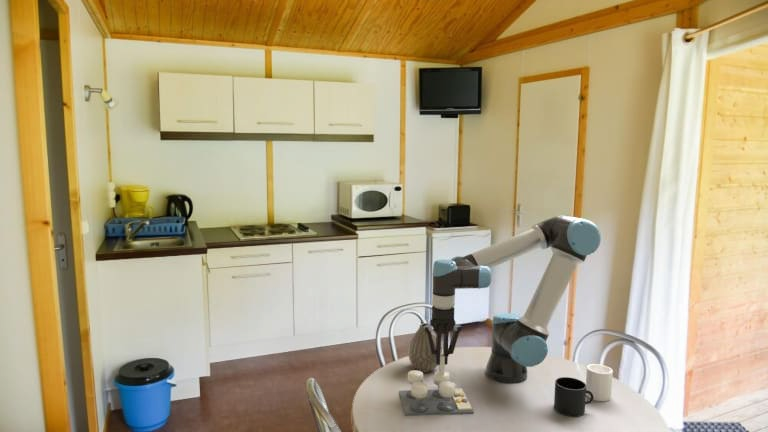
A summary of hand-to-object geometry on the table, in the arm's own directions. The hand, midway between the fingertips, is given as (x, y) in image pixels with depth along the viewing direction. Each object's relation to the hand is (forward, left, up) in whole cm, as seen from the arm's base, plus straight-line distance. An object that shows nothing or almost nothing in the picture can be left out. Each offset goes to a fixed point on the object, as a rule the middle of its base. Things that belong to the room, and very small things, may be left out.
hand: (441, 373), depth 172 cm
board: (+3, +4, -8) cm, 10 cm away
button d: (+9, +9, -5) cm, 14 cm away
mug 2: (-54, +1, -8) cm, 55 cm away
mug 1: (-41, +12, -8) cm, 44 cm away
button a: (0, 0, -5) cm, 5 cm away
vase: (+2, -23, -8) cm, 24 cm away
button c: (+9, 0, -5) cm, 10 cm away
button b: (0, +9, -5) cm, 10 cm away
